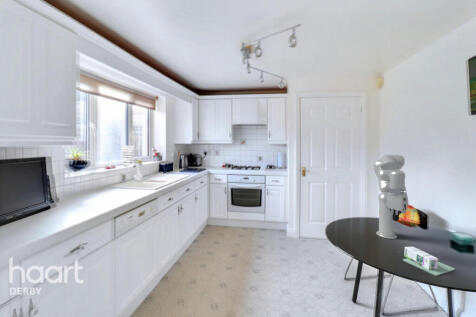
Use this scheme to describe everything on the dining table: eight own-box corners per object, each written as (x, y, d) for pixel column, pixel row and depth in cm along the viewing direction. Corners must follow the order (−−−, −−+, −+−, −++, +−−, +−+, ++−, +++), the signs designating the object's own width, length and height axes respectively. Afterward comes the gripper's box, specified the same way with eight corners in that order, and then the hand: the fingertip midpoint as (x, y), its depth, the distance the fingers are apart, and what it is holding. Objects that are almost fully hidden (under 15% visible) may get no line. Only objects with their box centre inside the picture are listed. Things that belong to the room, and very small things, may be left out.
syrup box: (404, 246, 127) (429, 259, 113) (413, 246, 128) (439, 258, 113) (403, 256, 127) (428, 270, 113) (412, 255, 128) (438, 269, 114)
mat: (420, 255, 129) (420, 254, 129) (455, 269, 114) (455, 268, 114) (402, 260, 124) (402, 259, 124) (436, 276, 109) (436, 274, 109)
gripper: (414, 193, 128) (412, 223, 129) (388, 188, 142) (387, 216, 143) (405, 194, 126) (404, 225, 127) (380, 189, 140) (379, 217, 141)
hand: (395, 220), depth 135 cm, fingers closed
